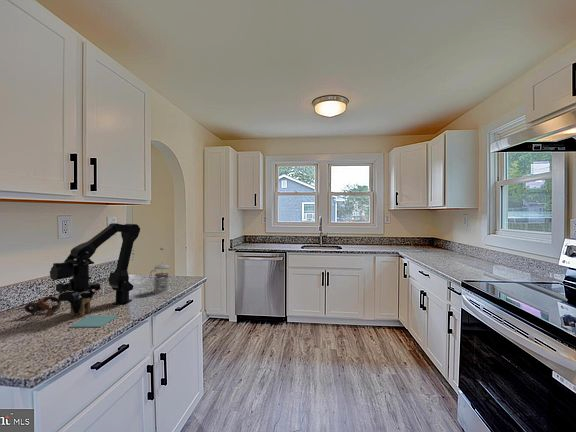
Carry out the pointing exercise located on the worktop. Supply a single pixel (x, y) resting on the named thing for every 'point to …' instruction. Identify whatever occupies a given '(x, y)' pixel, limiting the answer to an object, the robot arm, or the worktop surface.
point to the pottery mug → (43, 306)
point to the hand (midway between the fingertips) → (80, 311)
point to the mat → (94, 321)
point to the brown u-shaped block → (82, 307)
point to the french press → (160, 279)
